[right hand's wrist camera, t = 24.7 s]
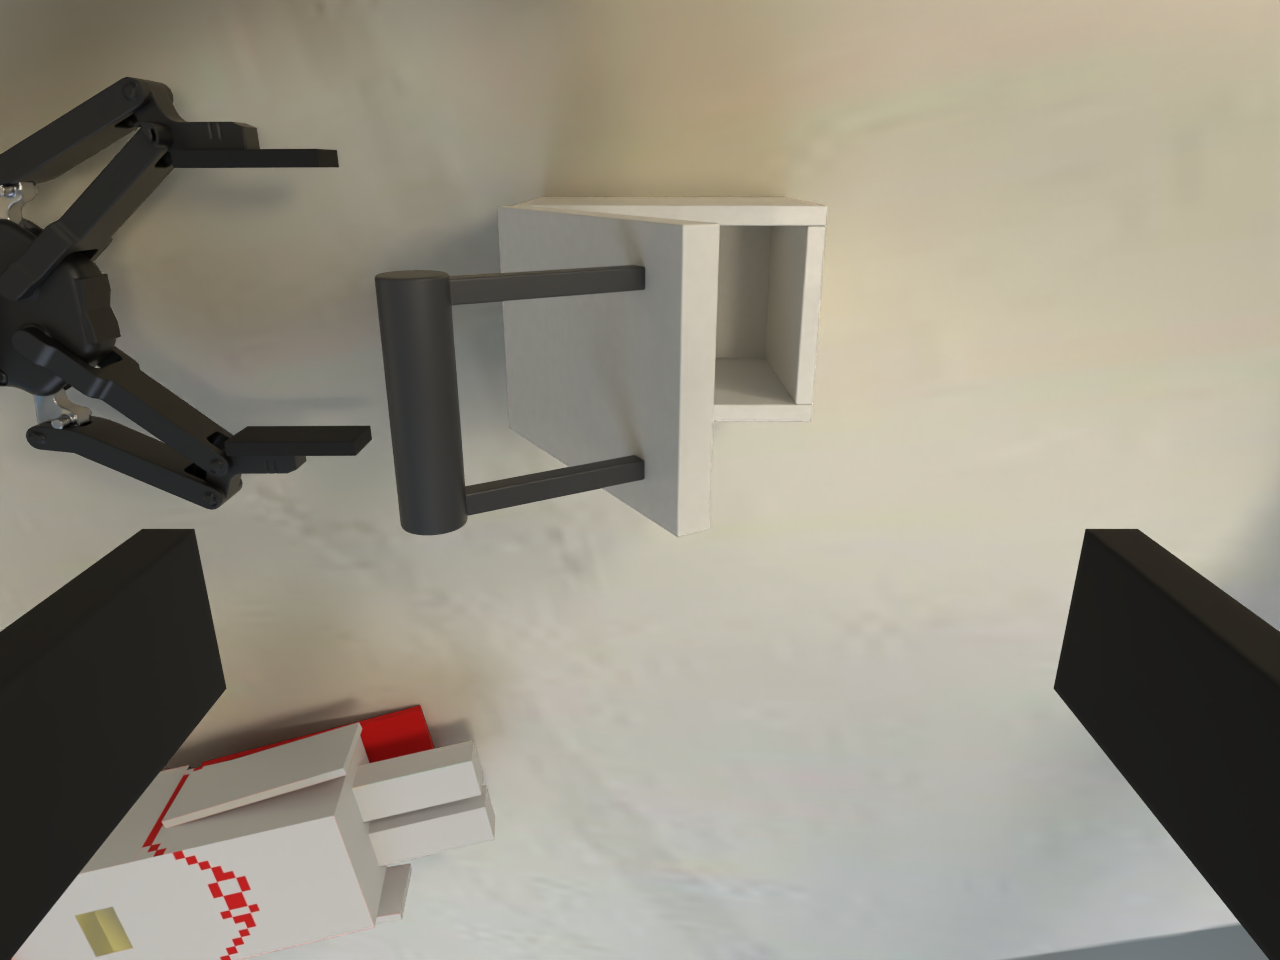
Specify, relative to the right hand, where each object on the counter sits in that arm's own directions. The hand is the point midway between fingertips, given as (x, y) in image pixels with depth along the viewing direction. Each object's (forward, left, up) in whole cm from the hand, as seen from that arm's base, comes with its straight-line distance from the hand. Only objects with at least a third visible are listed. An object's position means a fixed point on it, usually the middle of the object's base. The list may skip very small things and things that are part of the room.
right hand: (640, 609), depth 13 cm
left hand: (+10, -11, -30) cm, 34 cm away
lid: (+1, -1, -20) cm, 20 cm away
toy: (+42, +4, -37) cm, 56 cm away
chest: (-1, +1, -37) cm, 37 cm away
